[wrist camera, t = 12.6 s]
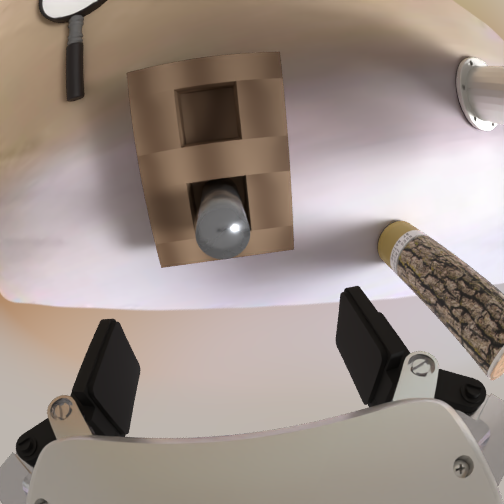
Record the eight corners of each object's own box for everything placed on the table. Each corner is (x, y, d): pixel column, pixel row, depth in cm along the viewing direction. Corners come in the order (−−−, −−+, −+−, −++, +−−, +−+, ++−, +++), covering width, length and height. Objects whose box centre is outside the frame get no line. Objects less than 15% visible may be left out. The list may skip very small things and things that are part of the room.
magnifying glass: (40, 114, 25) (31, 114, 23) (51, -28, 15) (44, -32, 13) (126, 86, 26) (120, 84, 24) (131, -58, 16) (128, -65, 14)
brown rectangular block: (268, 63, 26) (279, 51, 21) (281, 228, 35) (293, 249, 30) (142, 80, 26) (126, 73, 20) (169, 244, 34) (161, 267, 29)
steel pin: (236, 174, 31) (247, 204, 20) (239, 208, 33) (252, 255, 22) (199, 179, 31) (191, 212, 20) (205, 213, 32) (200, 262, 22)
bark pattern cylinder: (377, 267, 40) (481, 391, 18) (372, 227, 37) (502, 347, 14) (413, 252, 40) (522, 356, 17) (410, 213, 37) (542, 310, 14)
